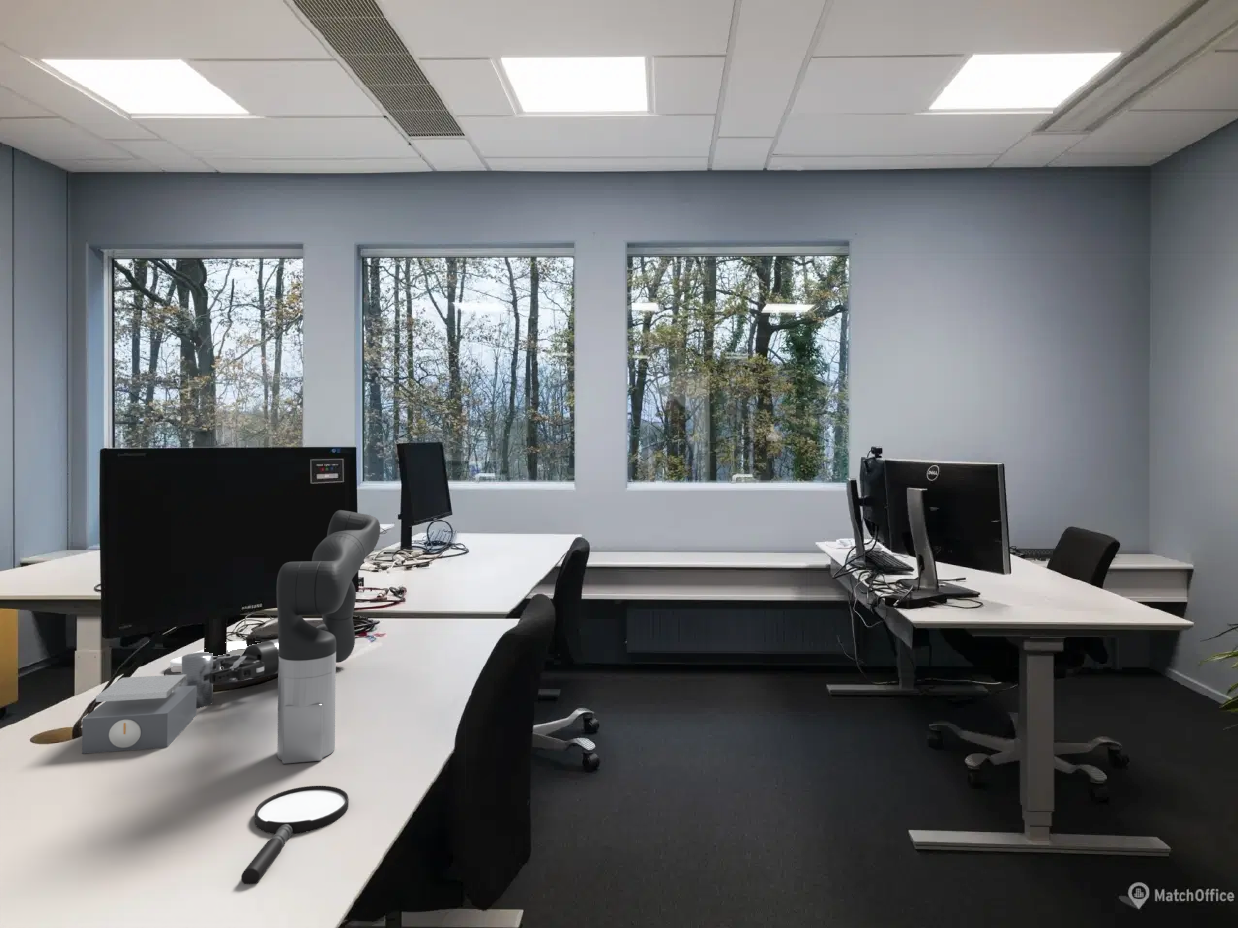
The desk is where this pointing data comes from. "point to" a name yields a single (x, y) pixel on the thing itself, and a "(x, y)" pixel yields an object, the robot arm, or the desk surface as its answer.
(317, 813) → the magnifying glass
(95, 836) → the desk surface
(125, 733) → the scale base
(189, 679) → the cylinder
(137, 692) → the scale pan
